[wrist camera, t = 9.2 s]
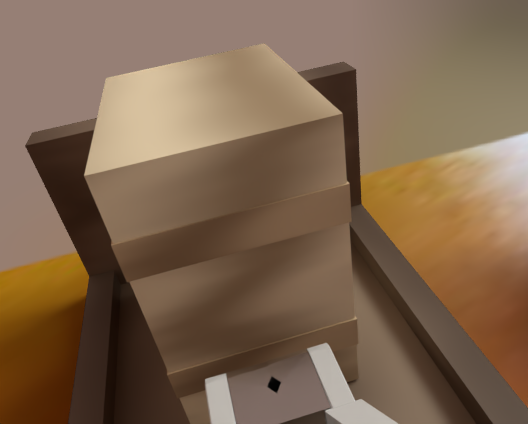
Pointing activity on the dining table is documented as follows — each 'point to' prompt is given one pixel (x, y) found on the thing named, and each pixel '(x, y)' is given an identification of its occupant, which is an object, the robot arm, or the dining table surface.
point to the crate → (227, 213)
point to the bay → (365, 305)
